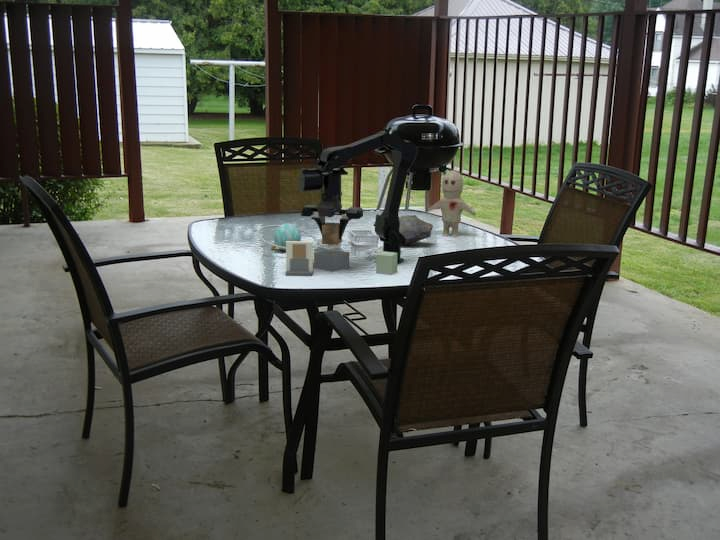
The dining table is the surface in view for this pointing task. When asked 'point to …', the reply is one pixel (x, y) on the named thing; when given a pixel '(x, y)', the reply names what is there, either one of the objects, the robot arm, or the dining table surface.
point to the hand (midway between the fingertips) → (332, 239)
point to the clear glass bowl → (285, 235)
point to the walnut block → (331, 233)
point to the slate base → (331, 260)
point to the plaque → (299, 258)
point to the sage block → (386, 263)
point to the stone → (414, 229)
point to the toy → (452, 202)
